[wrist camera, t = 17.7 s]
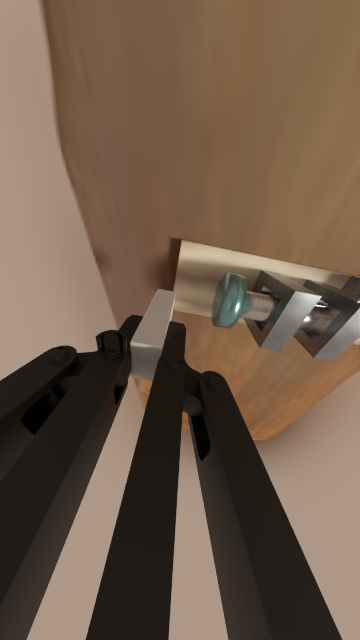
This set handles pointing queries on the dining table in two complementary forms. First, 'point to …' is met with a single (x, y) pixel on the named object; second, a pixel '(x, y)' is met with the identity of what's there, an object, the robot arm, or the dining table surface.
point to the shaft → (257, 306)
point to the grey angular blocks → (296, 303)
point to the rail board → (213, 262)
